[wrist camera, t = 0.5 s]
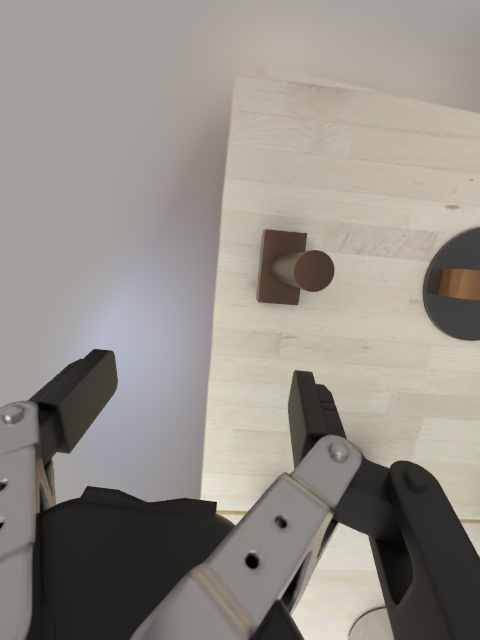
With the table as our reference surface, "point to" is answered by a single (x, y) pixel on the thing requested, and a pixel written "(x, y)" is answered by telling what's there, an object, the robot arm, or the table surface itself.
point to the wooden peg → (290, 268)
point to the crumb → (460, 284)
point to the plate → (446, 312)
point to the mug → (373, 627)
